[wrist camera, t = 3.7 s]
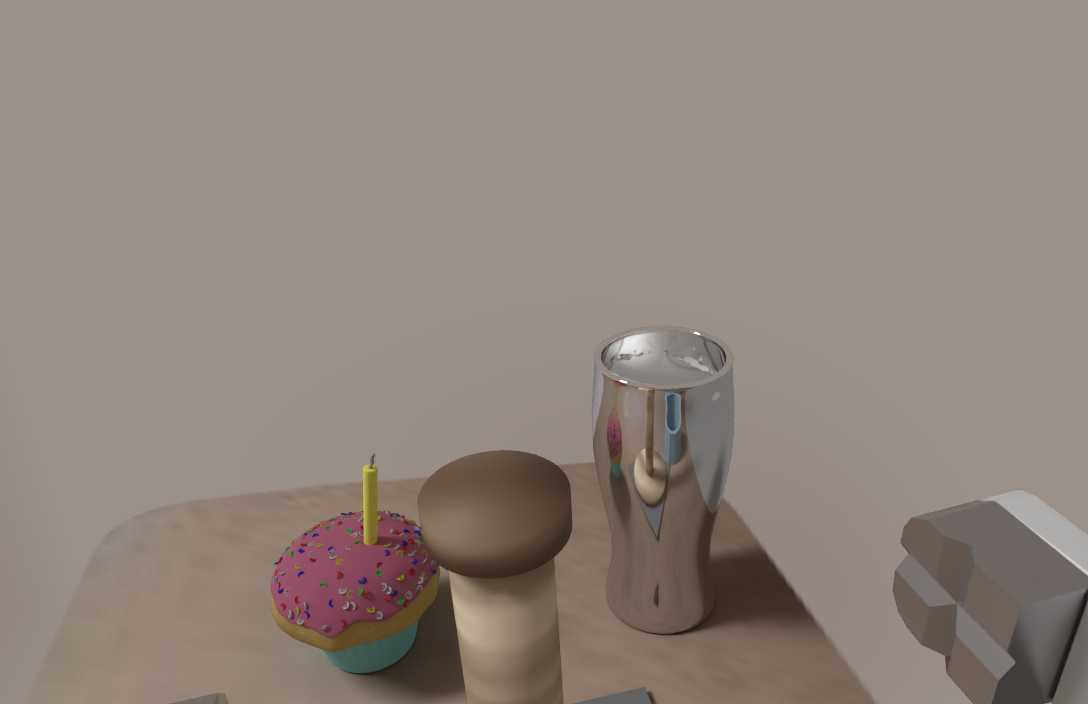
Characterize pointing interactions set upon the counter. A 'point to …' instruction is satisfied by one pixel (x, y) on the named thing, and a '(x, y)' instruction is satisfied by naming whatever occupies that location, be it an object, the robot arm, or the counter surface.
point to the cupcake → (356, 585)
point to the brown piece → (501, 569)
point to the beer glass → (662, 469)
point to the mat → (622, 698)
